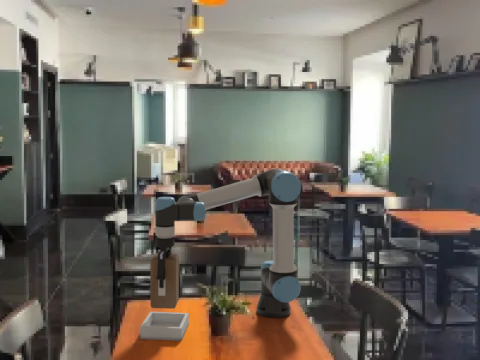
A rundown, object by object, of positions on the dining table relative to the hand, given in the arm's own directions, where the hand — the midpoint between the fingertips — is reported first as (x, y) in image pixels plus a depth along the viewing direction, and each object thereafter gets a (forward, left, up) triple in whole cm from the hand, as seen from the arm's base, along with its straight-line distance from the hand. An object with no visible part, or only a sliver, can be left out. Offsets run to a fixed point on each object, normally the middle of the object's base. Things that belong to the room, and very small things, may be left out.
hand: (164, 290), depth 215 cm
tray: (0, 0, -17) cm, 17 cm away
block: (0, 0, -6) cm, 6 cm away
